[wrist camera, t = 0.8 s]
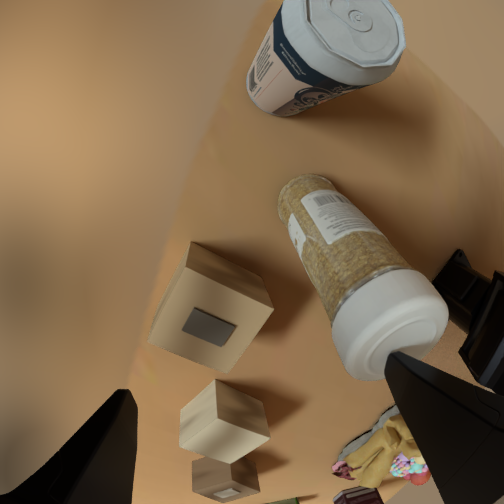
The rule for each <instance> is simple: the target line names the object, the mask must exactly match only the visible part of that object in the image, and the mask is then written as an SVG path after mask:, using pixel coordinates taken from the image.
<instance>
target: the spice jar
mask: <svg viewBox="0 0 504 504" xmlns="http://www.w3.org/2000/svg"><path fill="white" fill-rule="evenodd" d="M405 47H406V41H405V35H404V27H403V21H402V18H401V17H400V16H399V14H398V13H397V11H396V10H395V9H394V7H393V6H392V5H391V3H390V2H389V1H388V0H284V1H283V3H282V5H281V7H280V9H279V11H278V12H277V14H276V16H275V18H274V20H273V22H272V24H271V26H270V28H269V30H268V32H267V34H266V36H265V38H264V40H263V42H262V44H261V46H260V48H259V50H258V52H257V54H256V56H255V58H254V60H253V63H252V65H251V67H250V69H249V71H248V74H247V79H246V83H247V91H248V94H249V96H250V97H251V99H252V101H253V102H254V103H255V104H256V105H257V106H258V107H259V108H260V109H262V110H263V111H265V112H267V113H269V114H272V115H276V116H290V115H295V114H297V113H299V112H302V111H304V110H306V109H309V108H311V107H313V106H316V105H318V104H321V103H323V102H326V101H328V100H331V99H333V98H336V97H338V96H341V95H344V94H346V93H349V92H352V91H354V90H357V89H360V88H363V87H365V86H368V85H372V84H375V83H378V82H380V81H383V80H384V79H386V78H387V77H389V76H390V75H391V74H392V73H393V72H394V70H395V69H396V67H397V65H398V63H399V61H400V58H401V55H402V52H403V50H404V48H405Z"/></svg>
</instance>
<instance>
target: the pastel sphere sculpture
mask: <svg viewBox="0 0 504 504" xmlns="http://www.w3.org/2000/svg"><path fill="white" fill-rule="evenodd" d="M332 469H333V471H334V472H335V473H333V475H336V476H338V477H340V478H345V479H348V480H354V479H357V480H361V481H360V484H359V486H363V487H368V488H376V487H379V486H380V484H381V482H382V480H383V478H384V477H385V476H386V475H387V474H388V473H390V472H392V475H393V476H397V477H403V478H404V479H405V480H411V483H413V484H414V485H423V484H424V483H426V482H427V481H428V480H429V478H430V476H431V473H430V471H429V469H428V467H427V465H426V463H425V461H424V459H423V457H422V455H421V453H420V451H419V449H418V447H417V445H416V443H415V441H414V439H413V437H412V435H411V433H410V431H409V429H408V427H407V425H406V423H405V421H404V419H403V418H402V416H401V414H400V412H399V410H398V408H397V406H396V405H395V406H394V407H393V408H392V409H390V410H388V411H387V412H386V413H385V414H383V415H382V416H381V417H380V419H379V422H378V423H377V424H376V425H375V426H374V427H373V430H372V431H371V432H369V433H367V434H365V435H363V436H361V437H360V438H359V439H357V440H354V441H353V442H352V443H351V444H349V445H348V446H347V447H345V448H344V449H343V453H342V454H340V455H339V458H338V462H337V463H336V464H335V465H334V466H333V467H332Z"/></svg>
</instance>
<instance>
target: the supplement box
mask: <svg viewBox="0 0 504 504" xmlns="http://www.w3.org/2000/svg"><path fill="white" fill-rule="evenodd" d="M333 502H334V504H384V503H383V501H382V499H381V497H380V494H379V492H378V490H377V488H368V487H363V486H361V487H357V488H353V489H349V490H345V491H341V492H340V493H339V494H338V495H337V496H336V497H335V498H333Z"/></svg>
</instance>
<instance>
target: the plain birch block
mask: <svg viewBox="0 0 504 504" xmlns="http://www.w3.org/2000/svg"><path fill="white" fill-rule="evenodd" d="M270 438H271V436H270V432H269V428H268V424H267V419H266V415H265V411H264V406H263V402H262V401H260V400H257V399H255V398H253V397H251V396H249V395H246V394H244V393H242V392H240V391H238V390H236V389H234V388H232V387H230V386H228V385H226V384H224V383H222V382H220V381H218V380H216V379H215V380H213V381H212V382H211V383H210V384H209V385H208V386H207V387H206V388H205V389H204V390H203V391H201V392H200V393H199V394H198V395H197V396H196V397H195V398H194V399H193V400H191V401H190V402H189V403H188V404H187V405H186V406H185V407H184V408H182V409H181V416H180V437H179V447H181V448H184V449H186V450H189V451H192V452H195V453H198V454H200V455H203V456H206V457H209V458H213V459H216V460H219V461H222V462H226V463H229V464H231V463H233V462H234V461H236V460H238V459H239V458H241V457H243V456H244V455H246V454H248V453H249V452H251V451H252V450H254V449H255V448H257V447H258V446H260V445H261V444H263V443H265V442H266V441H267V440H269V439H270Z"/></svg>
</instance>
